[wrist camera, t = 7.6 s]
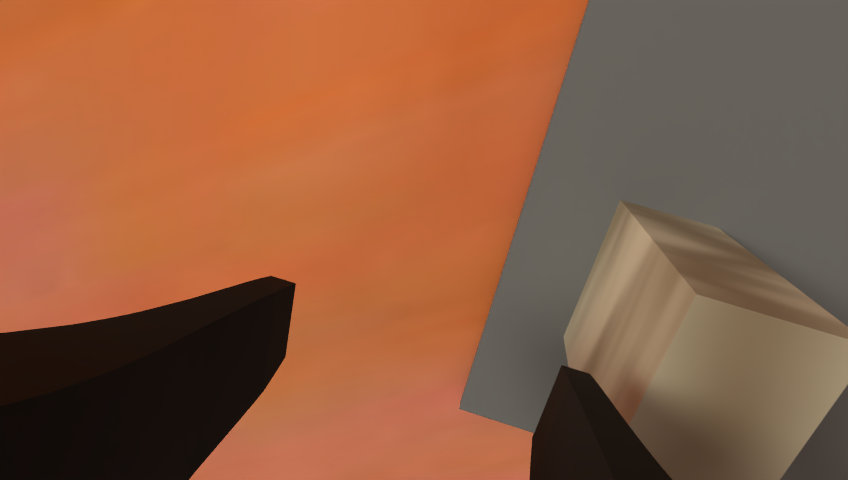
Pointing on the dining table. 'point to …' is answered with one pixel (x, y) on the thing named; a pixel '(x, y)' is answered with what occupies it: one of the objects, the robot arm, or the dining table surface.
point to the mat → (681, 176)
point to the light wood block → (705, 348)
